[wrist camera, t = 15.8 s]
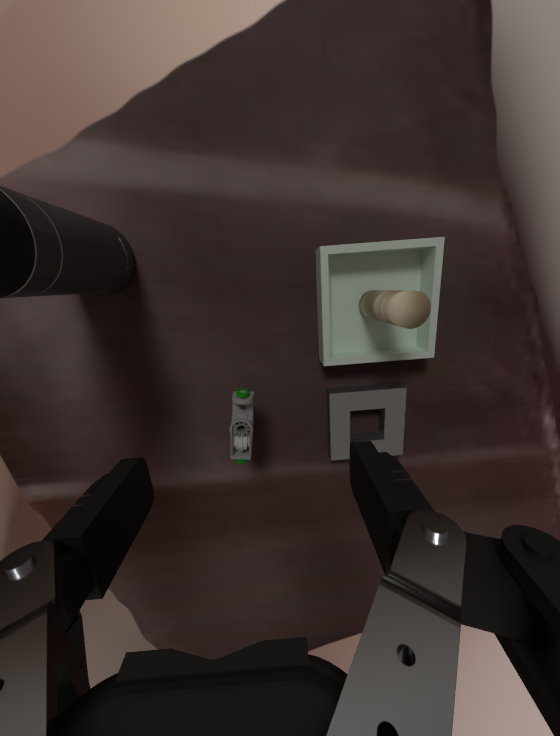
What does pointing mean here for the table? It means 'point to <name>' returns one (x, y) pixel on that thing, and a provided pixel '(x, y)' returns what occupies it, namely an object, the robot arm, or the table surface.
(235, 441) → the mechanical component
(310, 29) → the table surface
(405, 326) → the dowel
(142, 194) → the table surface
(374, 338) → the tray
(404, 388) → the socket block
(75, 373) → the table surface
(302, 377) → the table surface
